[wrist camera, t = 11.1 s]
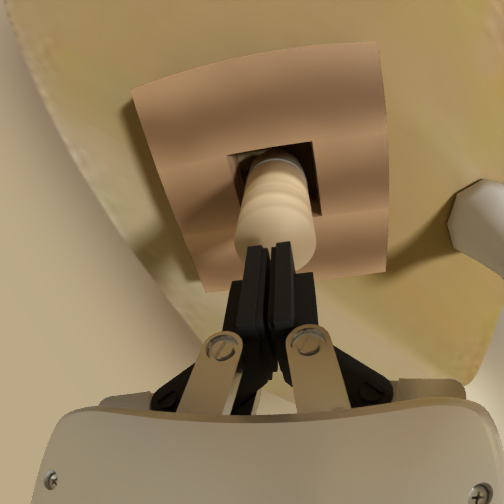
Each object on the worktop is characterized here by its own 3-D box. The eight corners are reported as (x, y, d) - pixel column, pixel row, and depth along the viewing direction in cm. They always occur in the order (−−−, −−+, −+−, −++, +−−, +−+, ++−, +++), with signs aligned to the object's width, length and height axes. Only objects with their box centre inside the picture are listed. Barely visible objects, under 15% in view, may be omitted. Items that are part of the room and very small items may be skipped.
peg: (244, 147, 20) (223, 214, 13) (299, 138, 19) (312, 201, 12) (255, 194, 22) (243, 279, 15) (307, 187, 21) (320, 271, 14)
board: (149, 82, 17) (130, 89, 15) (362, 42, 15) (377, 41, 12) (212, 268, 27) (205, 292, 24) (376, 247, 24) (385, 271, 22)
